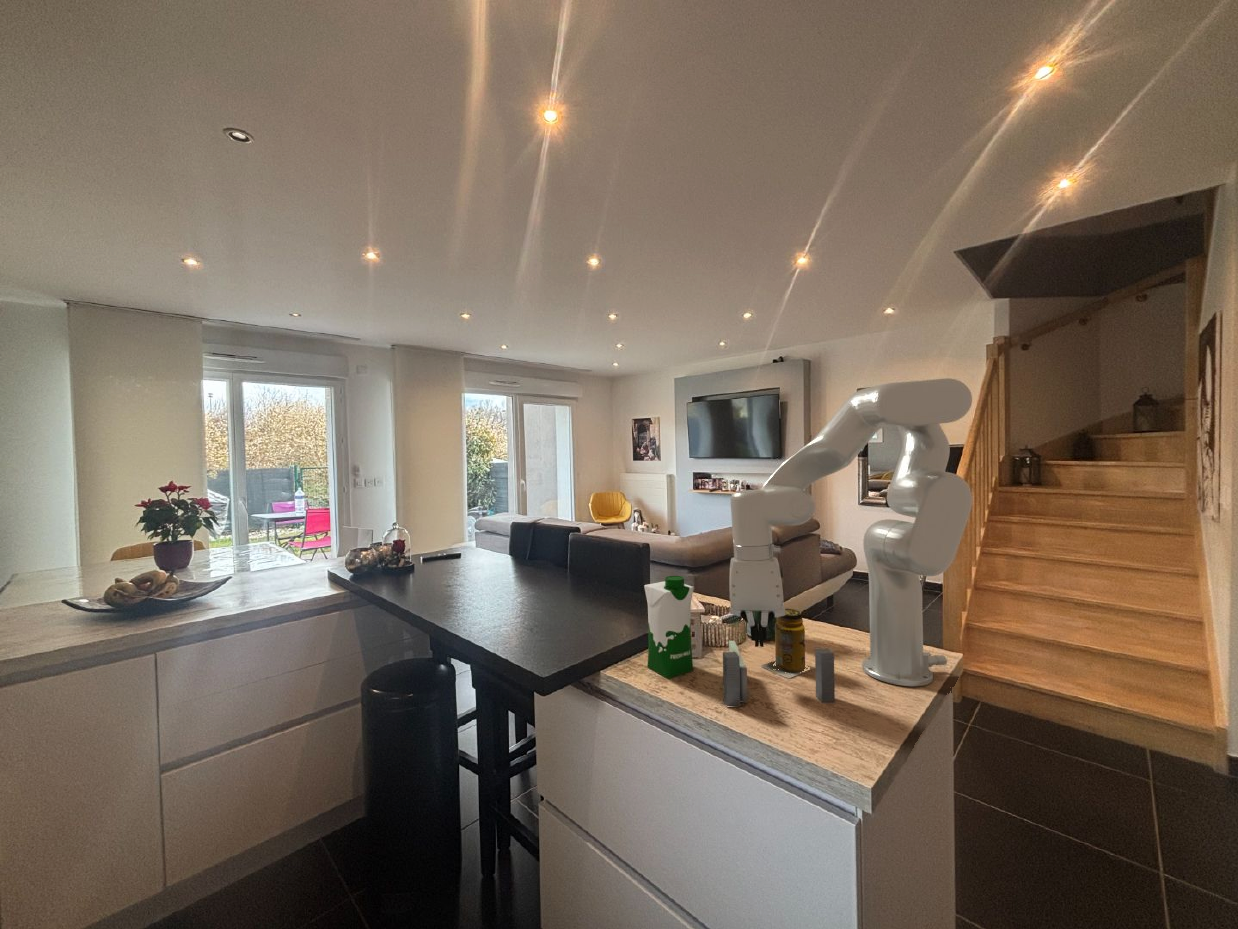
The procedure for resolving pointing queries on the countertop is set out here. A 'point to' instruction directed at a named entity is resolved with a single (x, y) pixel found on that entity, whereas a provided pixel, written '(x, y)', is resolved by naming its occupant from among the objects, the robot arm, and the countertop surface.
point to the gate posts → (822, 669)
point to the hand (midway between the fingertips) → (759, 644)
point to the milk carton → (669, 626)
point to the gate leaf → (743, 672)
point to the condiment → (789, 645)
